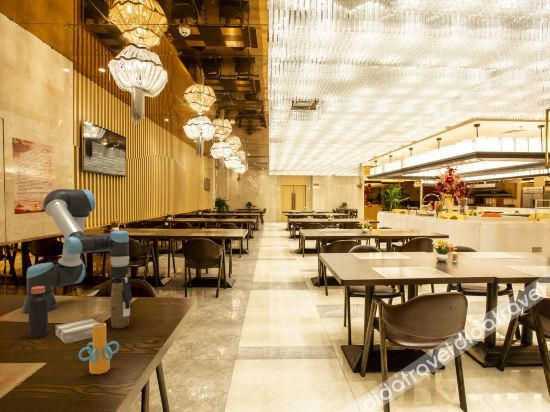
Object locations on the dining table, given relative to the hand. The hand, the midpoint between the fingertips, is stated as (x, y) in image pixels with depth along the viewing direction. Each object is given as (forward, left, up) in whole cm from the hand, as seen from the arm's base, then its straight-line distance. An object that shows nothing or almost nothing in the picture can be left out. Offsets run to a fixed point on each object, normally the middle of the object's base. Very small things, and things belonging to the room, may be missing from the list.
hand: (120, 312), depth 165 cm
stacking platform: (0, -17, -6) cm, 18 cm away
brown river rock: (0, 0, -6) cm, 6 cm away
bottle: (-12, -29, -6) cm, 32 cm away
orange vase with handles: (+41, -23, -6) cm, 47 cm away
